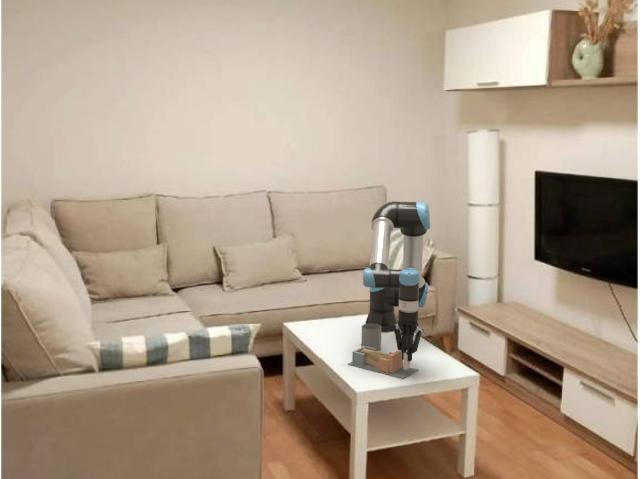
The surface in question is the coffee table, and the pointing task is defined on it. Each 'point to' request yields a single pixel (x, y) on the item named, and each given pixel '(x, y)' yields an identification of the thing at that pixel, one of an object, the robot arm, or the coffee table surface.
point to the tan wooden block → (373, 357)
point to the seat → (359, 361)
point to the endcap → (391, 362)
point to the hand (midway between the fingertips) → (406, 368)
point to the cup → (371, 336)
